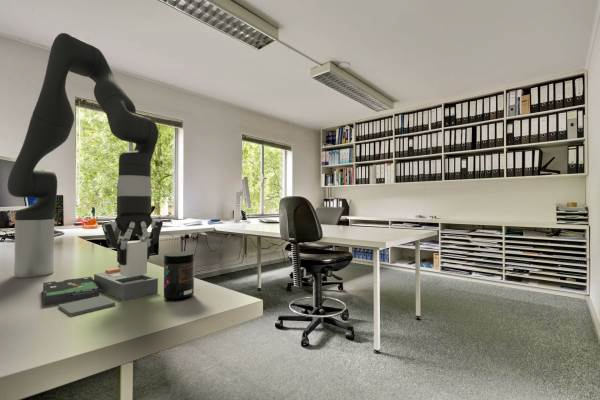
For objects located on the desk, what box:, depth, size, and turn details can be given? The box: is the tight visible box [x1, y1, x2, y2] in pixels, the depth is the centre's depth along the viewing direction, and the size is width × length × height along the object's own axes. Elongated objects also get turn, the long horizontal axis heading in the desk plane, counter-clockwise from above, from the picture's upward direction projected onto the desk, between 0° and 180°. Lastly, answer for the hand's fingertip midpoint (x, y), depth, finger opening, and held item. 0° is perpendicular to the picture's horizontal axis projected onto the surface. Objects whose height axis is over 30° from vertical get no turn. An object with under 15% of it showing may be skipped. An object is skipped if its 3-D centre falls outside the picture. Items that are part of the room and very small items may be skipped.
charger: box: [120, 240, 148, 277], centre depth 74 cm, size 4×4×8 cm
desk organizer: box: [93, 267, 159, 301], centre depth 79 cm, size 24×8×4 cm, turn 53°
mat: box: [57, 295, 116, 317], centre depth 64 cm, size 8×8×1 cm
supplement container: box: [163, 251, 195, 302], centre depth 71 cm, size 7×7×10 cm
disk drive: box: [42, 276, 100, 307], centre depth 74 cm, size 10×3×15 cm
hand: (133, 262), depth 74 cm, fingers closed on charger, 4 cm apart
